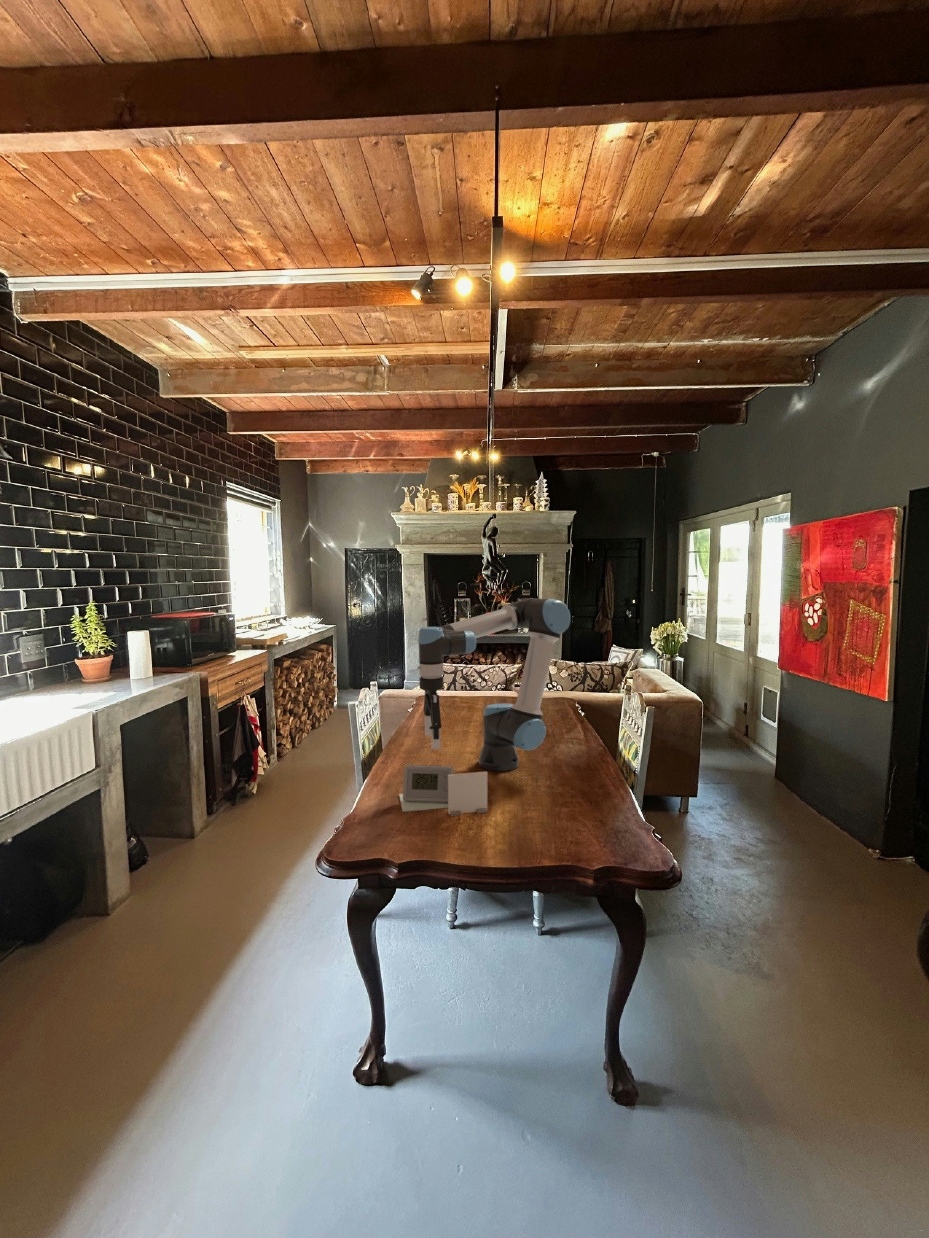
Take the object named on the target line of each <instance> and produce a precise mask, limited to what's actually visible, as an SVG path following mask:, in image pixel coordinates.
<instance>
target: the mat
mask: <svg viewBox="0 0 929 1238" xmlns="http://www.w3.org/2000/svg"><path fill="white" fill-rule="evenodd" d="M398 796H399V802H400V806H401V810H402V811H401V812H416V811H427V810H438V809H448V802H442V803H421V802H414V801H404V800H403V793H399V794H398Z"/></svg>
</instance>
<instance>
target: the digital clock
mask: <svg viewBox="0 0 929 1238" xmlns="http://www.w3.org/2000/svg"><path fill="white" fill-rule="evenodd" d="M454 769H455V768H454V767H453V766H450V765H449V766H448V765H438V764H437V765H433V764H432V765H429V764H417V765H416V764H415V765H413V764H407V765H405V766H404V770H403V786H402V794H403V800H404V801H414V802H421V803H442V802H448V774H455V770H454Z"/></svg>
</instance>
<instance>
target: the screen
mask: <svg viewBox="0 0 929 1238" xmlns="http://www.w3.org/2000/svg"><path fill="white" fill-rule="evenodd" d="M487 812H488V771H477V772H465V773H464V772H463V773H454V774H448V808H447V813H448V815H450V816H451V817H454V816H455V817H456V816H461V815H462V814H467V813H476V814H478V815H479V814H487Z"/></svg>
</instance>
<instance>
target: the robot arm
mask: <svg viewBox="0 0 929 1238" xmlns="http://www.w3.org/2000/svg"><path fill="white" fill-rule="evenodd" d="M570 624H571V612H570V609H568V606H567V604H566V603H564V602H563V601H561V600H558V599H554V598H553V599H552V598H537V597H536V598H535V597H532V598H525V599H521V600H518V601H515V602H512V603H507V604H505V605H503V606H502V607H501V609H497V610H493V611H491V612H487V613H484V614H480V615H476V616H473V617H469V618H466V619H462V620H459V621H455V622H452V623H449V624H445V625H441V626H425V627H422V628H420V629H419V631H418V659H419V661H418V663H419V666H417V670H419V676H420V677H419V680H418V681H419V689H420V690H422V691H424V702H423V710H422V711H423V713H424V735H425V736H426V737H428V736H430V738H431V739H430V744H431V745H430V747H431V750H440V749H441V729H442V727H443V726H442V720H441V719H442V717H441V708H440V695H439V694H438V692H437V691H438V690H442V689H443V688H444V677H443V676H444V657H447V656H457V655H468V654H471V653H473V652H474V651H475V650H476V649H477V638H481V637H484V636H488V635H491V634H494V633H497V632H500V631H504V630H509V631H513V630H516V629H527V633H528V636H529V637H530V640H529V644H528V649H527V653H526V657H525V658H526V659H525V663H524V667H523V671H522V675H521V680H520V685H519V689H518V692H517V693H518V694H517V698H516V702H515V703H514V704H513V703H505V702H504V703H492V704H488V705H486V706H485V707H484V708H483V714H482V717H483V744H482V747H481V751H480V753H479V757H478V766H479V767H481V768H482V769H485V770H488V771H492V772H493V771H494V772H507V771H512V770H514V769H517V768H518V767H519V763H520V761H519V756H518V753H517V750H516V749H520V750H524V751H532V750H536V749H537V748H538V747H539V746H540V745H542V744H543V741H545V737H546V735H547V734H546V733H547V727H546V726H545V723H544V721H543V717H544V716H543V715H544V714H543V711H542V710H541V704H542V700H543V696H544V692H545V687H546V683H547V677H548V673H549V668H550V664H551V659H552V656H553V655H552V654H553V651H554V646H555V643H556V642H558V641H559V640H561V639H560V638H561V634H563V633H565V632H566V631H567V630H568V629H569V627H570Z"/></svg>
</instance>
